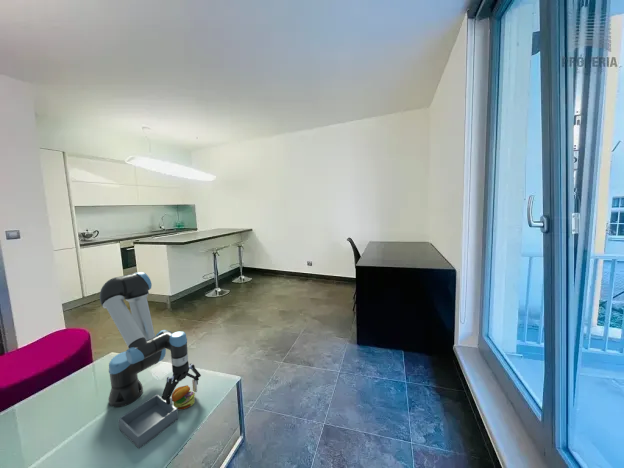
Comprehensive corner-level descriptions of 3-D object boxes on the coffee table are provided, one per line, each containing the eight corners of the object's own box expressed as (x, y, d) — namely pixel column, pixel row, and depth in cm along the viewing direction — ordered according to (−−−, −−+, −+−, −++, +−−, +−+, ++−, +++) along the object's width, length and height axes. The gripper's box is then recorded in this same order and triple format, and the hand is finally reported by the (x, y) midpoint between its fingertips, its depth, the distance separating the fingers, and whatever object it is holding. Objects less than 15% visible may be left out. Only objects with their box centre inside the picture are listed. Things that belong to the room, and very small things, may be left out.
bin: (119, 430, 122) (118, 418, 121) (158, 404, 137) (156, 394, 136) (139, 449, 113) (137, 437, 112) (178, 419, 128) (177, 408, 127)
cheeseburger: (187, 413, 131) (182, 395, 130) (170, 414, 134) (164, 396, 133) (200, 397, 141) (194, 381, 140) (183, 398, 144) (178, 382, 142)
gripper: (159, 379, 121) (163, 420, 125) (206, 352, 143) (208, 387, 146) (150, 373, 125) (154, 413, 128) (197, 348, 146) (199, 382, 150)
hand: (183, 399), depth 137 cm, fingers open, 13 cm apart
